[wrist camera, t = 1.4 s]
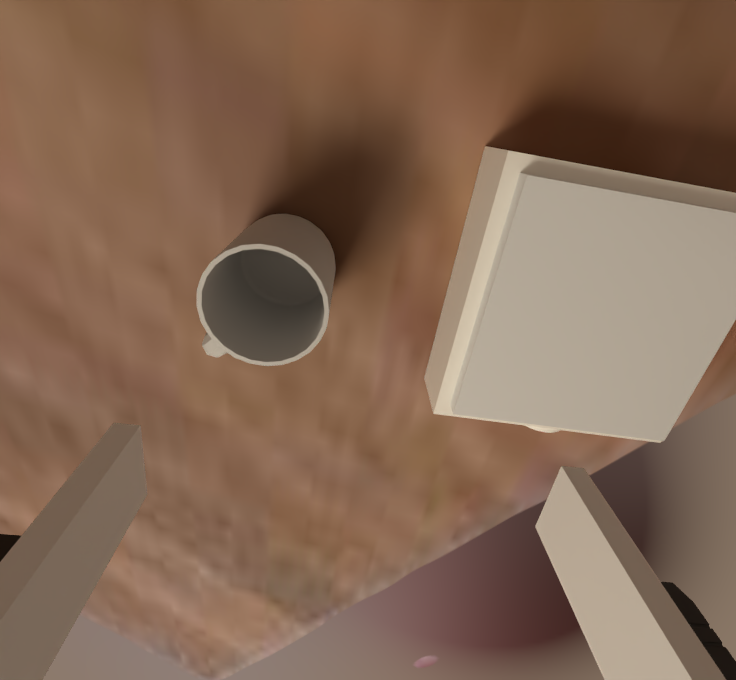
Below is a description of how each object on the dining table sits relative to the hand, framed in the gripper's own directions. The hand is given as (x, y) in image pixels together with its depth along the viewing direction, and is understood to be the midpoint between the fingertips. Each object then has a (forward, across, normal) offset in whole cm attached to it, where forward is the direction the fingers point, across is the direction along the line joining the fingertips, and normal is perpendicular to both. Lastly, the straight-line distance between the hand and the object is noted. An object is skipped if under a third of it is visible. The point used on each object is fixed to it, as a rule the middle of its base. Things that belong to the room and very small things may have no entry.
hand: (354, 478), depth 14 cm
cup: (+21, -6, -1) cm, 22 cm away
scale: (+21, +16, +1) cm, 26 cm away
